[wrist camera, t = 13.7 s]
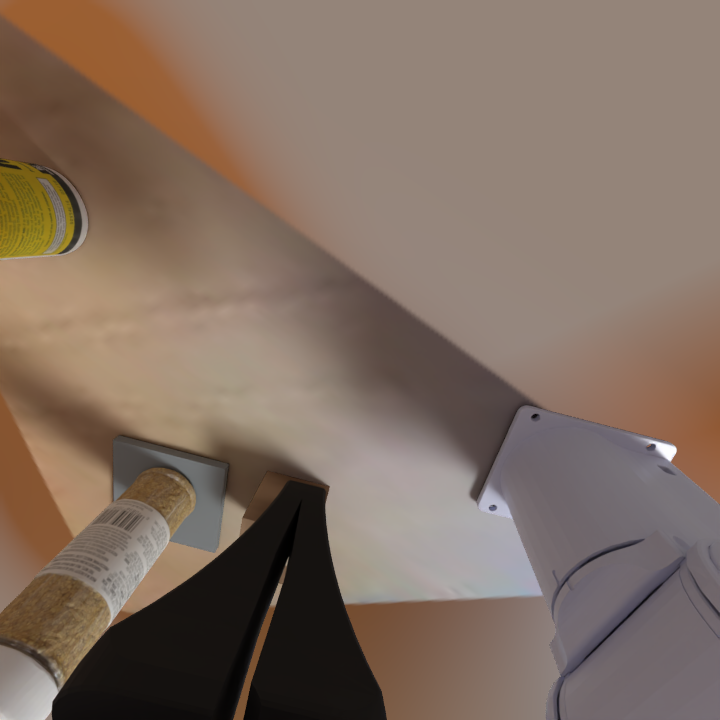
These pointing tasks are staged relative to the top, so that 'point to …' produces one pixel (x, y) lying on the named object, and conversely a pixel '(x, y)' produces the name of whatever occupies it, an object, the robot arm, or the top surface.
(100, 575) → the sprinkles bottle
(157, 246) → the top surface
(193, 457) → the grey mat
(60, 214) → the supplement bottle
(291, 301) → the top surface
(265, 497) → the walnut block
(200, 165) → the top surface
